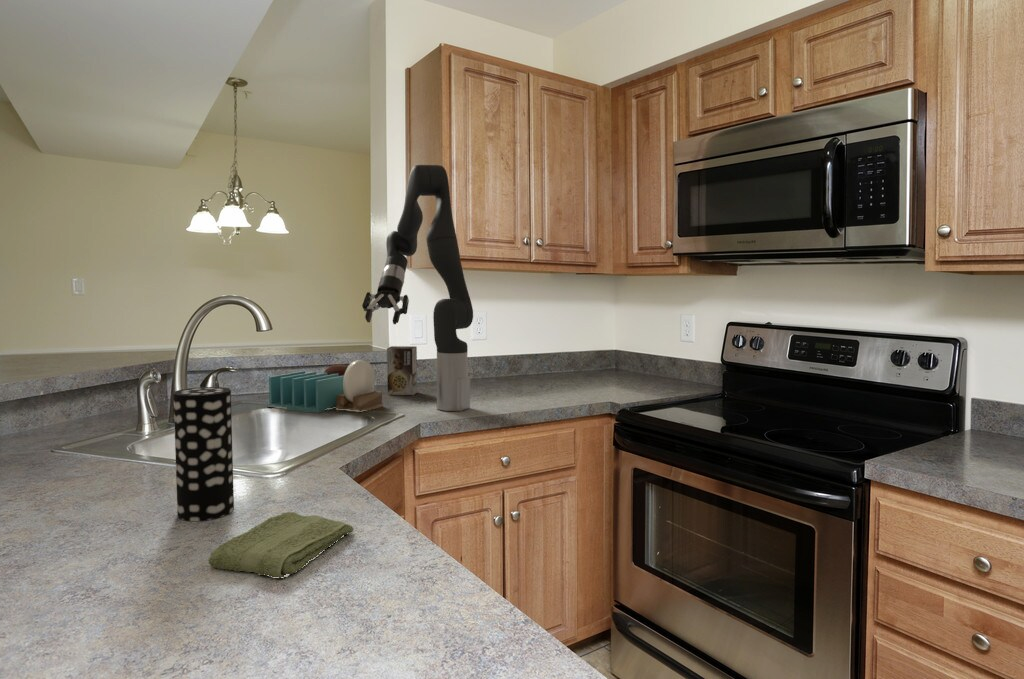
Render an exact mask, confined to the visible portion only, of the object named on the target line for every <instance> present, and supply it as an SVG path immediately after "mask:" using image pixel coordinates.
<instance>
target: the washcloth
mask: <svg viewBox="0 0 1024 679" xmlns="http://www.w3.org/2000/svg"><path fill="white" fill-rule="evenodd" d="M353 532H354V527H353V526H352V525H351V524H348V523H347V524H346V523H345V522H344V521H341V520H340V521H339V520H334V519H329V518H325V517H324V516H320V515H315V514H313V515H302V514H299V513H297V512H296V511H287V512H284V513H281V514H279V515H275V516H270V518H268V519H266V520H264V521H263V522H261V523H260V524H257V525H255V526H254V527H252V528H251V529H249V530H248V531H246V532H244V533H241V534H239V535H237V536H233V537H232V538H231V539H230V540H227V541H226V542H224V543H222V544H219V545H218V546H217V548H216V549H214V550H213V552H211V553H210V557H208V559H207V561H208V564H209V565H210V568H214V569H219V568H223V569H222V570H227V569H229V571H231V570H234V572H235V571H248V572H247V573H249V572H255V573H254V574H256V573H258V574H260V575H264V574H265V575H269V576H272V577H279V578H281V577H284V575H286V574H292V575H294V574H293V573H295V572H296V571H298V570H299V569H300V570H302V569H303V568H302V567H303V566H304V565H306V563H308V561H309V560H311V559H313V558H314V557H316V556H317V555H319V553H320V552H322V551H323V550H325V549H327V548H328V547H329V546H330V545H332V544H333V543H334V542H336V541H337V540H339V539H340V540H342V539H341V537H342V536H343V535H346V534H347V533H348V534H349V533H353ZM348 534H347V535H348ZM340 540H339V541H340ZM328 549H329V548H328ZM328 549H327V550H328ZM325 551H326V550H325ZM319 556H320V555H319ZM301 568H302V569H301ZM300 570H299V571H300ZM299 571H298V572H299ZM258 574H257V575H258ZM295 574H296V573H295ZM260 575H259V576H260ZM272 577H271V578H272Z"/></svg>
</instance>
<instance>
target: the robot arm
mask: <svg viewBox="0 0 1024 679" xmlns="http://www.w3.org/2000/svg"><path fill="white" fill-rule="evenodd" d="M426 196H427V197H428V196H431V197H435V202H436V209H435V214H434V216H433V219H432V222H431V224H430V226H429V228H428V231H427V234H426V238H425V239H426V246H427V251H428V256H429V259H430V262H431V264H432V266H433V267H434V269H435V270H436V272H437V273H438V275H439V276H440V277H441V279H442V280H443V282H444V284H445V285H446V289H447V292H448V295H449V298H441V299H440V300H438V301H437V302H436V304H435V305H434V308H433V316H432V318H433V334H434V335H433V336H434V339H433V340H434V343H435V346H436V409H437V410H439V411H446V412H447V411H448V412H452V411H454V412H462V411H465V410H467V409H469V408H470V407H471V377H470V376H468V347H469V346H468V343H467V342H466V341H464V340H461V339H460V338H459V337H458V335H457V330H462V329H463V330H464V329H467V328H469V327H470V326H471V325H472V323H473V319H474V309H473V304H472V300H471V296H470V295H469V294H470V293H469V290H468V287H467V283H466V280H465V275H464V271H463V265H462V260H461V256H460V255H461V254H460V249H459V243H458V239H457V238H458V237H457V233H456V229H455V224H454V218H453V212H452V205H451V204H452V203H451V194H450V183H449V176H448V173H447V170H446V169H445V167H444V166H443V165H439V164H418V165H417V164H416V165H414V166H413V167H411V170H410V173H409V176H408V181H407V187H406V192H405V198H404V206H403V209H402V213H401V216H400V219H399V222H398V224H397V227H396V230H392V231H391V232H389V234H388V235H387V237H386V243H385V244H386V256H387V257H386V261H385V265H384V268H383V270H382V273H381V275H380V280H379V282H378V286H377V290H376V293H375V294H372V293H371V292H369V291H368V292H366V294H365V296H364V299H363V302H362V305H361V307H362V308H363V311H364V312H365V315H364V316H365V317H364V318H365V321H366V322H367V323H371V321H372V317H373V312H375V311H377V310H379V309H391V308H393V311H394V314H393V317H392V323H393V325H397V324H398V323H399V320H400V317H401V315H406V314H407V313H408V309H409V302H410V299H409V296H408V294H404V295H403V296H401V294H402V290H403V287H404V284H405V276H406V271H407V267H408V263H409V262H408V259H407V257H412V256H413V255H415V253H416V252H417V248H418V235H419V231H420V228H421V227H422V224H423V220H424V213H423V211H422V208H421V207H420V204H419V202H418V199H419V198H420V197H426ZM399 302H402V304H401V305H402V306H401V308H400V307H399V306H398V303H399Z"/></svg>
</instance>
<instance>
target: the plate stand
mask: <svg viewBox="0 0 1024 679" xmlns="http://www.w3.org/2000/svg"><path fill="white" fill-rule="evenodd" d="M382 407H384V403H383V391H377V390H376V391H374V390H373V392H370V393H366V394H363V395H359V396H355V397H353V403H351V402H350V401H348V399H347V398H346V396H345V394H340V395H337V407H336V408H338V409H350V410H359V411H362V410H369V411H371V409H372V410H375V409H378V408H382ZM336 408H335V409H336Z"/></svg>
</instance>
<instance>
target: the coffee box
mask: <svg viewBox="0 0 1024 679" xmlns="http://www.w3.org/2000/svg"><path fill="white" fill-rule="evenodd" d="M417 354H418V351H417V346H408V345H407V346H406V345H405V346H404V345H402V346H401V345H398V346H397V345H395V346H394V345H392V346H389V347H387V348H386V362H387V363H386V364H387V365H386V367H387V369H386V371H387V378H386V379H387V384H386V385H387V396H388V395H393V396H396V395H398V396H401V395H402V396H414V395H415V394H416V393H418V364H417V362H418V360H417V358H418V357H417Z"/></svg>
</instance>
